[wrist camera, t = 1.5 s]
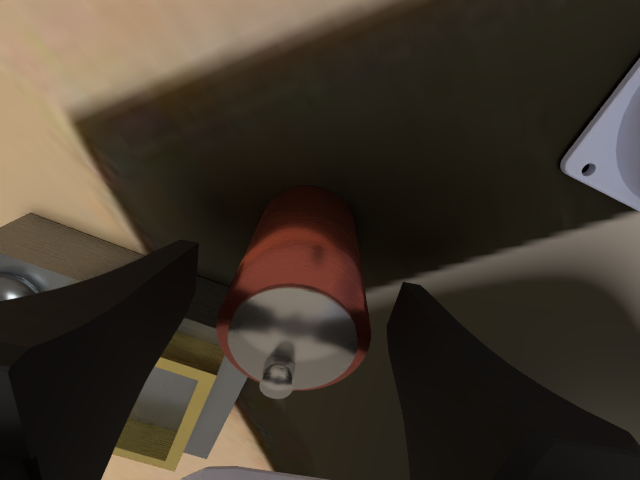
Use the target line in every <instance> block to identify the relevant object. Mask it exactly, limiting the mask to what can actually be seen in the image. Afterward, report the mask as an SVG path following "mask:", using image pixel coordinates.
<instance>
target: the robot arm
mask: <svg viewBox="0 0 640 480" xmlns="http://www.w3.org/2000/svg"><path fill="white" fill-rule="evenodd" d="M586 164H589V168H588V170H587V171H586V172H584V173H582V169H583V167H584V166H585V165H586ZM560 168H561V170H562V172H564V173H565V174H567V175H569V176H571V177H573V178H575V179H577V180H579V181H580V182H582V183H584V184H586V185H588V186H590V187H592V188H594V189H596V190H598V191H600V192H602V193H604V194H606V195H608V196H610V197H612V198H614V199H616V200H618V201H620V202H622V203H624V204H626V205H628V206H630V207H632V208H634V209H636V210H638V211H640V58H639V59H638V61H637V62H636V63H635V64H634V66H633V67H632V68H631V70H630V71H629V72H628V74H627V75H626V76H625V78H624V79H623V80H622V81H621V83H620V84H619V85H618V87H617V88H616V89H615V91H614V92H613V93H612V95H611V96H610V97H609V98H608V100H607V101H606V102H605V104H604V105H603V106H602V108H601V109H600V110H599V112H598V113H597V114H596V115H595V117H594V118H593V119H592V121H591V122H590V123H589V125H588V126H587V127H586V128H585V130H584V131H583V132H582V134H581V135H580V136H579V138H578V139H577V140H576V142H575V143H574V144H573V145H572V147H571V148H570V149H569V151H568V152H567V153H566V155H565V156H564V157H563V159H562V161H561V165H560ZM198 245H199V243H195V242H189V241H184V240H179V241H176V242H174V243H172V244H170V245H168V246H165V247H163V248H161V249H159V250H157V251H155V252H153V253H151V254H149V255H147V256H144V257H142V258H140V259H138V260H136V261H134V262H131V263H129V264H126V265H124V266H122V267H119V268H117V269H114V270H112V271H110V272H107V273H104V274H102V275H99V276H96V277H93V278H90V279H87V280H84V281H81V282H78V283H75V284H71V285H68V286H64V287H61V288H57V289H53V290H49V291H45V292H41V293H37V294H33V295H28V296H24V297H19V298H13V299H8V300H3V301H0V480H101V478H102V476H103V474H104V472H105V469H106V467H107V465H108V462H109V460H110V458H111V455H112V453H113V451H114V449H115V446H116V444H117V442H118V439H119V437H120V435H121V433H122V431H123V429H124V426H125V424H126V422H127V420H128V418H129V416H130V413H131V411H132V409H133V407H134V405H135V403H136V401H137V399H138V397H139V395H140V392H141V390H142V388H143V386H144V384H145V382H146V380H147V379H148V377H149V375H150V373H151V371H152V370H153V368H154V366H155V365H156V363H157V362H158V360H159V358H160V357H161V355H162V353H163V352H164V350H165V349H166V347H167V345H168V344H169V342H170V341H171V339H172V337H173V336H174V334H175V333H176V331H177V329H178V328H179V326H180V324H181V323H182V321H183V319H184V318H185V316H186V314H187V311H188V309H189V307H190V305H191V302H192V300H193V298H194V295H195V293H196V279H197V262H198ZM387 339H388V351H389V356H390V361H391V365H392V370H393V374H394V378H395V382H396V387H397V391H398V396H399V400H400V404H401V409H402V414H403V419H404V425H405V434H406V442H407V451H408V460H409V470H410V480H640V445H639V444H638V442H637V441H636V440H635V439H634V437H633V436H632V435H631V434H630V433H629V432H628V431H625V430H624V429H622V428H620V427H618V426H616V425H614V424H612V423H610V422H608V421H605V420H604V419H602V418H599V417H598V416H595V415H593V414H591V413H589V412H587V411H585V410H583V409H582V408H579V407H578V406H576V405H574V404H572V403H571V402H569V401H567V400H565V399H564V398H562V397H560V396H558V395H557V394H555V393H553V392H551V391H550V390H548V389H546V388H545V387H543V386H542V385H540V384H538V383H537V382H535V381H534V380H532V379H531V378H529V377H528V376H526V375H524V374H523V373H522V372H520V371H518V370H517V369H516V368H514V367H513V366H511V365H510V364H508V363H507V362H506V361H504V360H503V359H502V358H500V357H499V356H498V355H497V354H495V353H494V352H493V351H491V350H490V349H489V348H488V347H486V346H485V345H484V344H482V343H481V342H480V341H479V340H478V339H477V338H476V337H475V336H473V335H472V334H471V333H470V332H469V331H468V330H467V329H466V328H464V327H463V326H462V325H461V324H460V323H459V322H458V321H457V320H456V319H455V318H454V317H453V316H452V315H450V313H449V312H448V311H447V310H446V309H444V307H443V306H442V305H441V304H440V303H438V302H437V300H435V298H434V297H433V296H431V295H430V294H429V293H428V292H427V291H426V290H425V289H424V288H423V287H422V286H420V285H417V284H412V283H406V282H403V284H402V286H401V289H400V292H399V295H398V297H397V300H396V303H395V305H394V308H393V311H392V313H391V316H390V319H389V322H388V324H387ZM181 480H327V479H320V478H313V477H307V476H300V475H293V474H286V473H279V472H272V471H265V470H259V469H252V468H245V467H238V466H217V467H207V468H204V469H202V470H199V471H197V472H195V473H192V474H190V475H188V476H186V477H184V478H182V479H181Z"/></svg>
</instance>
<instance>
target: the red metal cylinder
mask: <svg viewBox="0 0 640 480" xmlns="http://www.w3.org/2000/svg"><path fill="white" fill-rule="evenodd" d="M216 329H217V337H218V341H219V344H220V346H221V349H222V351H223V352H224V354H225V356H226V357H227V358H228V360H229V361H230V362H231V363H232V364H233V365H234V366H235V367H236V368H237V369H238V370H239V371H240V372H242V373H243V374H244V375H246V376H248V377H249V378H251V379H253V380H255V381H257V382H259V383H260V390H261V392H262V393H263V394H264V395H266V396H267V397H270V398H274V399H281V398H285V397H287V396H289V395H290V394H291V392H292V390H293V391H294V390H295V391H296V390H297V391H298V390H299V391H301V390H302V391H303V390H313V389H317V388H322V387H325V386H329V385H331V384H334V383H336V382H338V381H340V380H342V379H343V378H345V377H347V376H348V375H349V374H351V373H352V372H353V371H354V370H355V369H356V368H357V367H358V366H359V365H360V363H361V362H362V361H363V359H364V357H365V356H366V354H367V351H368V349H369V345H370V340H371V329H370V322H369V315H368V308H367V301H366V294H365V288H364V281H363V274H362V268H361V261H360V254H359V247H358V241H357V234H356V227H355V221H354V218H353V215H352V213H351V211H350V209H349V208H348V206H347V205H346V204H345V202H344V201H343V200H342V199H341V198H339V197H338V196H337V195H335V194H334V193H332V192H330V191H328V190H326V189H323V188H320V187H315V186H299V187H294V188H290V189H288V190H285V191H283V192H281V193H280V194H278V195H277V196H276V197H274V198H273V199H272V200H271V201H270V202H269V204H268V205H267V207H266V208H265V210H264V212H263V214H262V217H261V219H260V221H259V223H258V226H257V228H256V230H255V232H254V234H253V237H252V239H251V241H250V243H249V246H248V248H247V250H246V252H245V254H244V257H243V259H242V261H241V263H240V266H239V268H238V270H237V272H236V274H235V277H234V279H233V281H232V283H231V286H230V288H229V290H228V292H227V294H226V297H225V299H224V301H223V303H222V305H221V308H220V310H219V313H218V317H217V324H216Z"/></svg>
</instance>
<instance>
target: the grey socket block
mask: <svg viewBox="0 0 640 480" xmlns="http://www.w3.org/2000/svg"><path fill="white" fill-rule="evenodd" d="M142 257H144V255H141V254H138V253H136V252H133V251H130V250H128V249H125V248H122V247H120V246H117V245H114V244H111V243H109V242H106V241H103V240H101V239H98V238H95V237H93V236H90V235H87V234H85V233H82V232H79V231H77V230H74V229H71V228H69V227H66V226H63V225H61V224H58V223H55V222H53V221H50V220H47V219H44V218H42V217H39V216H36V215H34V214H31V213H28V214H26V215H24V216H22V217H20V218H18V219H16V220H14V221H12V222H10V223H8V224H6V225H4V226H2V227H0V301H3V300H8V299H13V298H19V297H24V296H28V295H33V294H37V293H41V292H45V291H49V290H53V289H57V288H61V287H64V286H68V285H71V284H75V283H78V282H81V281H84V280H87V279H90V278H93V277H96V276H99V275H102V274H104V273H107V272H110V271H112V270H114V269H117V268H119V267H122V266H124V265H126V264H129V263H131V262H134V261H136V260H138V259H140V258H142ZM228 290H229V287H227V286H224V285H221V284H219V283H216V282H213V281H211V280H208V279H205V278H203V277H200V276H197V279H196V293H195V295H194V298H193V300H192V302H191V305H190V307H189V309H188V311H187V314H186V316H185V318H184V319H183V321H182V323H181V324H180V326H179V328H178V329H177V331H176V333H175V334H174V336H173V337H172V339H171V341H170V342H169V344H168V345H167V347H166V349H165V350H164V352H163V353H162V355H161V357H160V358H159V360H158V362H157V363H156V365H155V366H154V368H153V370H152V371H151V373H150V375H149V377H148V379H147V380H146V382H145V384H144V386H143V388H142V390H141V392H140V395H139V397H138V399H137V401H136V403H135V405H134V407H133V409H132V411H131V413H130V416H129V418H128V420H127V422H126V424H125V426H124V429H123V431H122V433H121V435H120V437H119V439H118V442H117V444H116V446H115V449H114V451H113V453H112V454H113V455H117V456H121V457H124V458H128V459H131V460H135V461H139V462H142V463H146V464H149V465H153V466H157V467H160V468H164V469H167V470H171V471H174V472H175V469H176V467H177V465H178V463H179V460H180V458H181V456H182V454H183V452H184V453H188V454H191V455H194V456H198V457H201V458H205V459H207V457H208V455H209V453H210V451H211V449H212V447H213V445H214V443H215V441H216V439H217V437H218V435H219V433H220V431H221V429H222V427H223V425H224V423H225V421H226V419H227V417H228V415H229V413H230V411H231V409H232V407H233V405H234V403H235V401H236V399H237V397H238V395H239V393H240V391H241V389H242V387H243V385H244V383H245V381H246V379H247V377H248V376H246V375H244V374H243V373H242V372H240V371H239V370H238V369H237V368H236V367H235V366H234V365H233V364H232V363H231V362H230V361H229V360H228V358H227V357H226V356H225V354H224V352H223V351H222V349H221V346H220V344H219V341H218V337H217V329H216V324H217V317H218V313H219V310H220V308H221V305H222V303H223V301H224V299H225V297H226V294H227V292H228Z"/></svg>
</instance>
